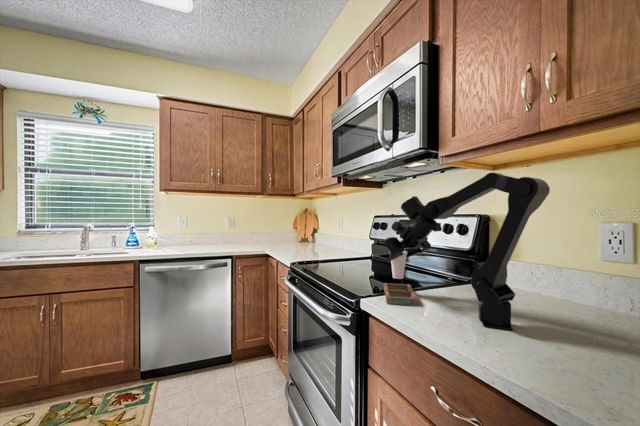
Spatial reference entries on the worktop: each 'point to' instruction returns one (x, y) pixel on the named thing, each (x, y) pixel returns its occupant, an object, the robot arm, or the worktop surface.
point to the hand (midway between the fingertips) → (395, 259)
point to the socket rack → (400, 294)
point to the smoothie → (399, 266)
